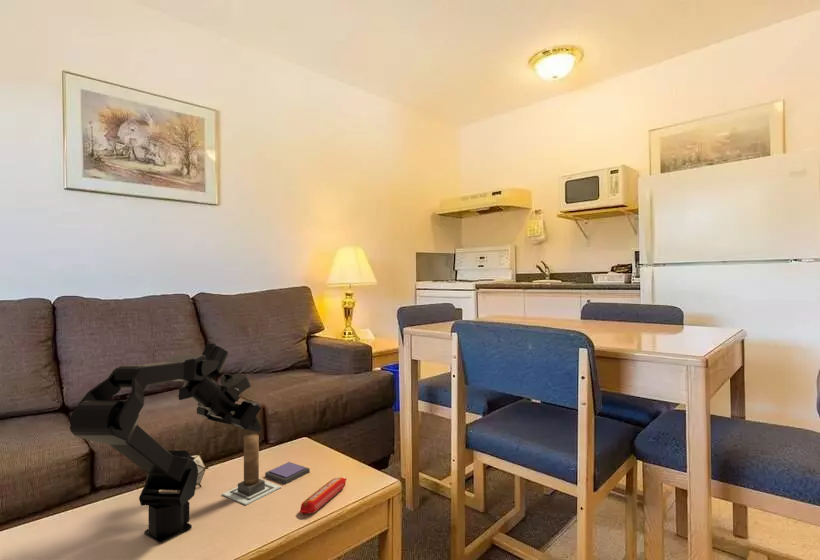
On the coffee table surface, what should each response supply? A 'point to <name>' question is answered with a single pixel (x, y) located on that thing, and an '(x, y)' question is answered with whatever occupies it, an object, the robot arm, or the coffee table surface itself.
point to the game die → (199, 468)
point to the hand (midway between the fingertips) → (248, 427)
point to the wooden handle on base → (251, 467)
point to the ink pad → (287, 472)
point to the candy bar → (322, 495)
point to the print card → (247, 500)
